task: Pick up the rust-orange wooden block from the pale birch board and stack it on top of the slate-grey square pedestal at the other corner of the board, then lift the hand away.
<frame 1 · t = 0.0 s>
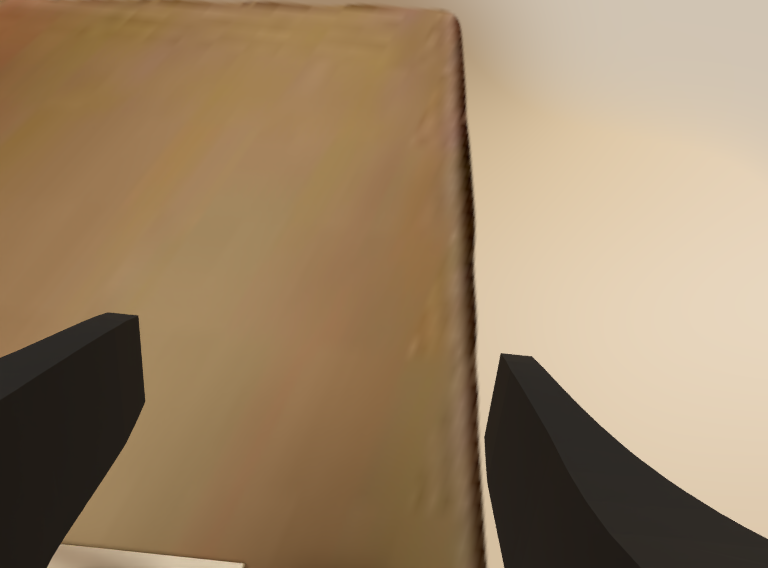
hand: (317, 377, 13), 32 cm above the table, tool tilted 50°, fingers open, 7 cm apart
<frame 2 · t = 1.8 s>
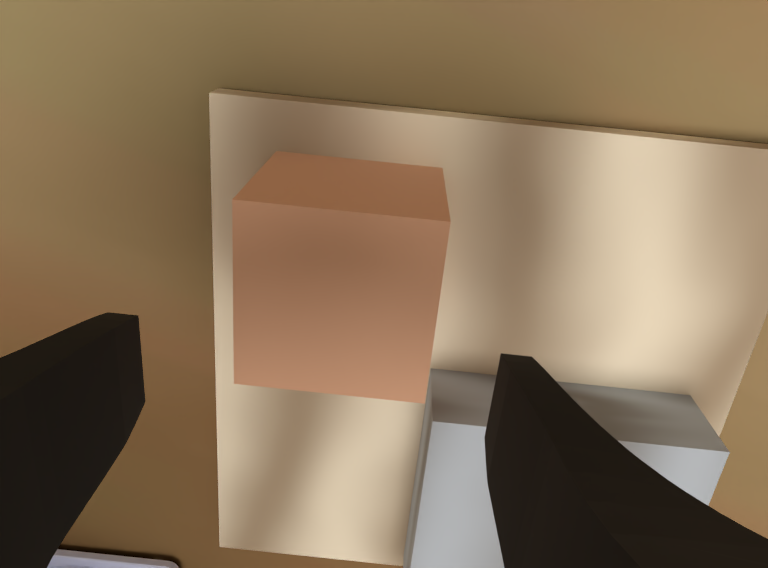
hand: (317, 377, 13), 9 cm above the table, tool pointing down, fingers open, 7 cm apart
block: (353, 237, 20), point 1 cm above the table, touching base board
base board: (469, 369, 23), on the table
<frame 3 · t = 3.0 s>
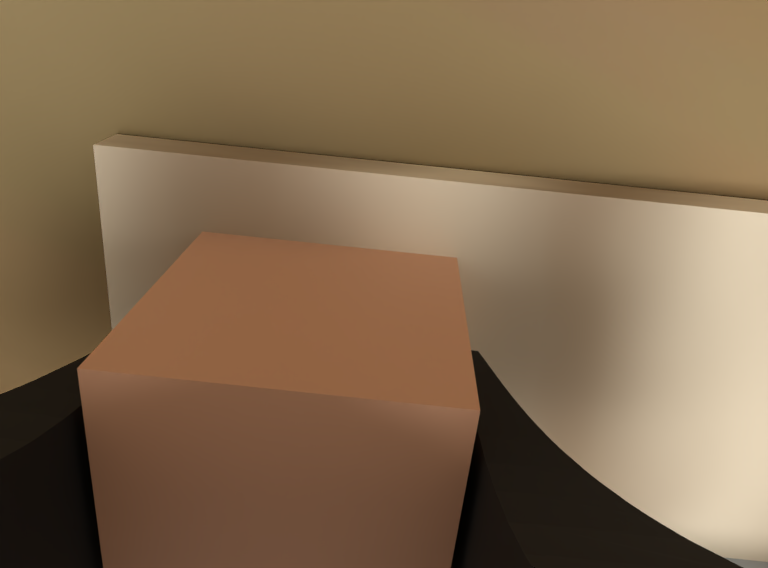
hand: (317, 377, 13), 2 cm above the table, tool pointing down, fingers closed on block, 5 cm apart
block: (323, 354, 13), point 1 cm above the table, touching base board, gripper
base board: (491, 518, 16), on the table
when the fingers open (6 cm above the table, at t = 6.5 s): block stays where it is, resting on base board.
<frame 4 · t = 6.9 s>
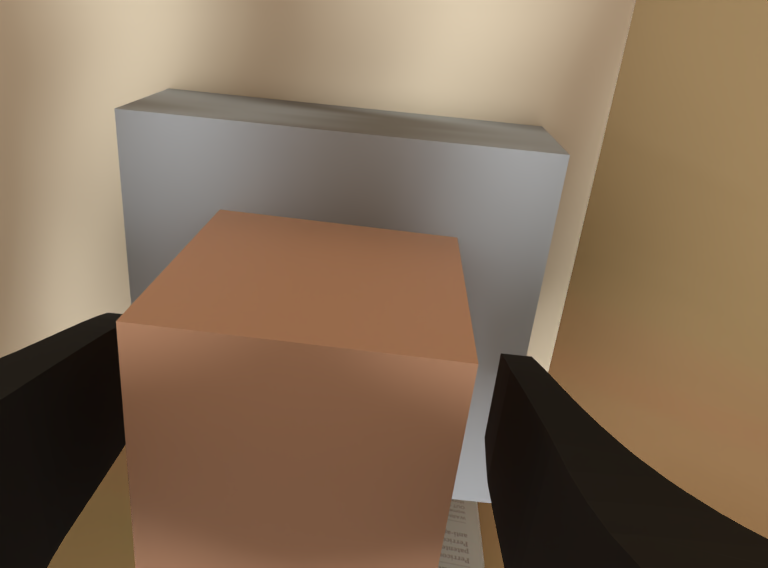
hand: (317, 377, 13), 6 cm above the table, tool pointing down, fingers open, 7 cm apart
supplement box: (355, 544, 23), on the table
block: (330, 327, 14), point 4 cm above the table, touching base board
base board: (241, 109, 16), on the table
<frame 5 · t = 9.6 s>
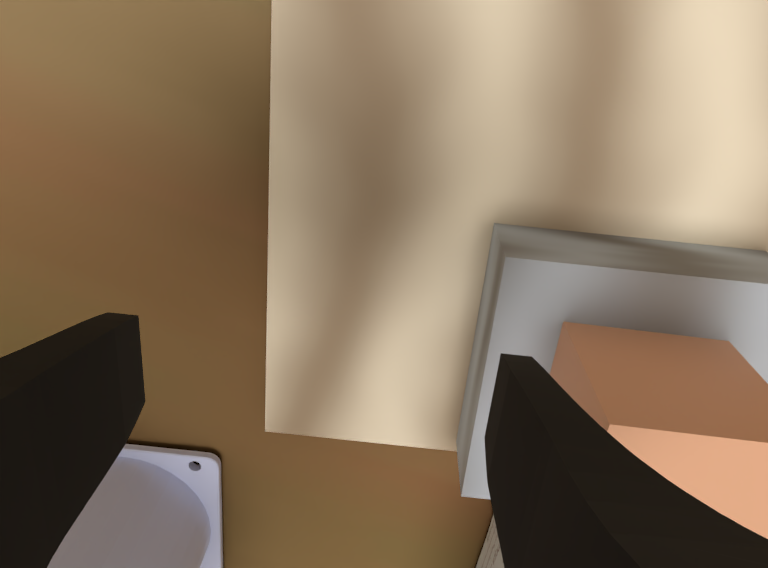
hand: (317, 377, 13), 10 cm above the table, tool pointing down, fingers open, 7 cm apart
supplement box: (556, 551, 28), on the table
block: (623, 400, 20), point 4 cm above the table, touching base board
base board: (531, 231, 22), on the table
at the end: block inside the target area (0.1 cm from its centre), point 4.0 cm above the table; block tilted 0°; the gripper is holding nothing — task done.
